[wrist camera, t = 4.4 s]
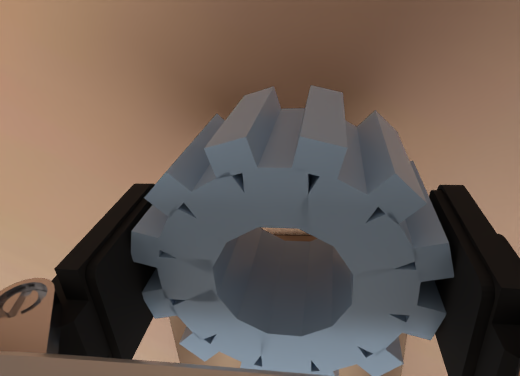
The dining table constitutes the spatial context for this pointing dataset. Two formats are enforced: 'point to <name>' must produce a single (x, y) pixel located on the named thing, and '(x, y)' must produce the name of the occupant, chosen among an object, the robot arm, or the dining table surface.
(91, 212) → the dining table surface
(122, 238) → the robot arm
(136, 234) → the blue gear
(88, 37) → the dining table surface
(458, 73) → the dining table surface
